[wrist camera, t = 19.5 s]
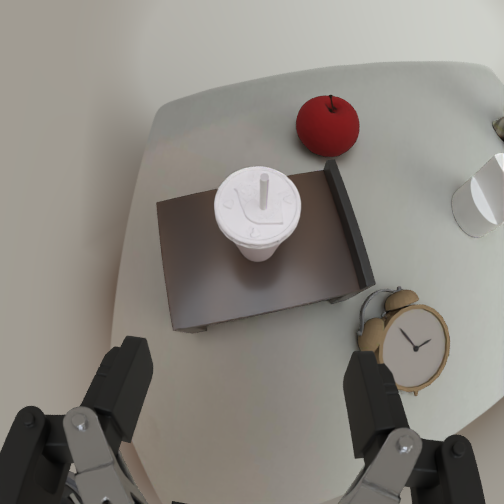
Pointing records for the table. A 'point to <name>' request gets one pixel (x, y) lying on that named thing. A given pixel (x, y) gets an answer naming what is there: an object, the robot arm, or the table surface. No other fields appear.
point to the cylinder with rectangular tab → (481, 199)
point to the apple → (327, 125)
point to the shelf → (265, 272)
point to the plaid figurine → (499, 127)
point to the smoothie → (257, 210)
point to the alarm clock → (406, 340)
